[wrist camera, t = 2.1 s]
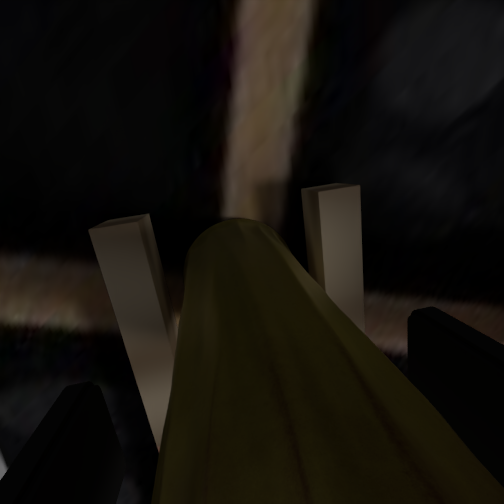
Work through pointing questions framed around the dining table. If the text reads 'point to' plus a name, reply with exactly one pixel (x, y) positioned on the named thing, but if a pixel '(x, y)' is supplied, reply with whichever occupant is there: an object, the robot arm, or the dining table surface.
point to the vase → (294, 395)
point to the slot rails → (158, 299)
